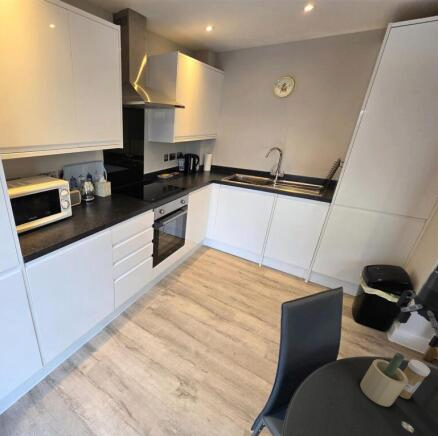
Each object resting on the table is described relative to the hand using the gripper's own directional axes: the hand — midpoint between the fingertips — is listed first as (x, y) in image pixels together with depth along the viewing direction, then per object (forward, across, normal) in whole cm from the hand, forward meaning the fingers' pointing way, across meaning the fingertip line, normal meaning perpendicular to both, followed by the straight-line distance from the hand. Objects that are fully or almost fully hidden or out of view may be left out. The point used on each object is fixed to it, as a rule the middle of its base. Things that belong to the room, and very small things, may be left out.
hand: (416, 333), depth 71 cm
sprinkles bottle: (+28, 0, -9) cm, 29 cm away
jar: (+27, 0, +1) cm, 27 cm away
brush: (+27, 0, +1) cm, 27 cm away
